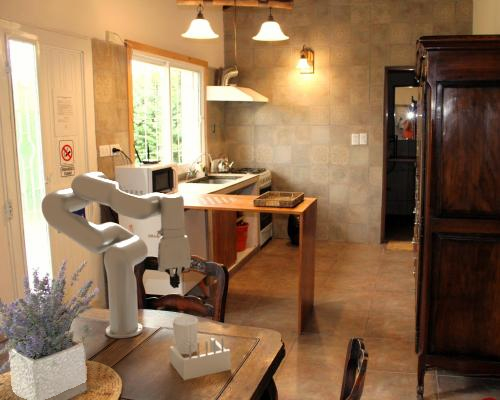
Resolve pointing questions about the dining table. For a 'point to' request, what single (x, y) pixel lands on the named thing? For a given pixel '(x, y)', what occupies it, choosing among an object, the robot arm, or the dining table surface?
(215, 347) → the drying rack
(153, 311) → the dining table surface
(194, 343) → the white cup
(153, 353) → the dining table surface
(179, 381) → the dining table surface
